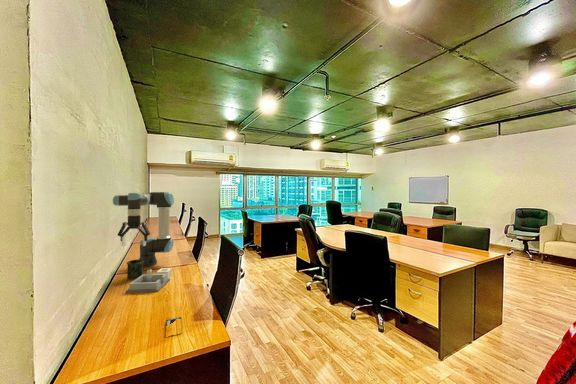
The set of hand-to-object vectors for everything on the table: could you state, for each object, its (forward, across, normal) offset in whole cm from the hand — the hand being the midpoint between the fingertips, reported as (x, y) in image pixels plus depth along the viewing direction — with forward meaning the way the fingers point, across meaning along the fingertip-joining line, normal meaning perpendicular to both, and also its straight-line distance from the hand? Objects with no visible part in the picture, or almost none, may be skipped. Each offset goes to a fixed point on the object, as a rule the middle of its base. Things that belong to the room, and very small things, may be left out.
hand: (134, 245), depth 164 cm
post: (+27, +11, -1) cm, 29 cm away
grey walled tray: (+28, +11, -1) cm, 30 cm away
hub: (+28, +15, +17) cm, 36 cm away
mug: (+28, -7, +16) cm, 33 cm away
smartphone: (+28, +46, -54) cm, 76 cm away
